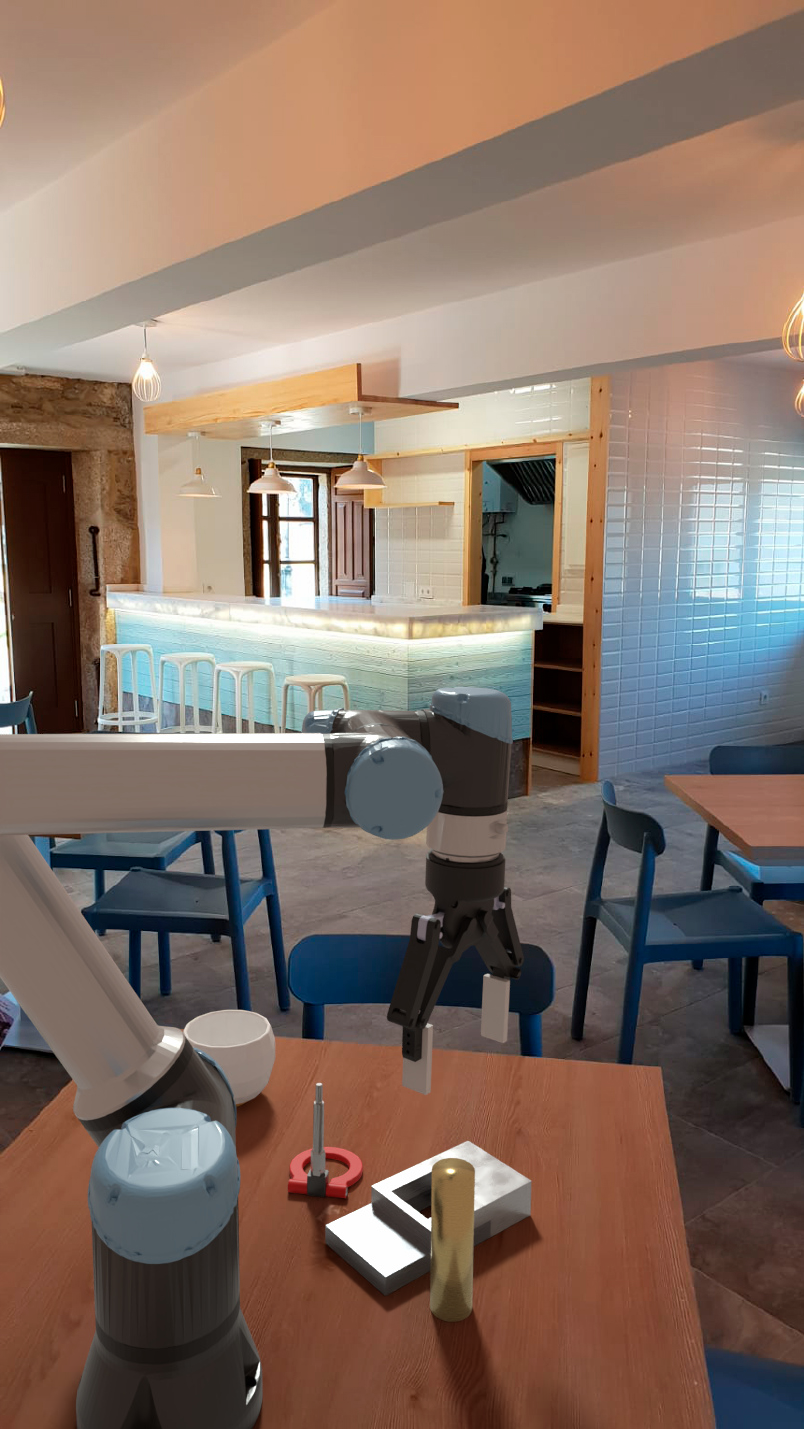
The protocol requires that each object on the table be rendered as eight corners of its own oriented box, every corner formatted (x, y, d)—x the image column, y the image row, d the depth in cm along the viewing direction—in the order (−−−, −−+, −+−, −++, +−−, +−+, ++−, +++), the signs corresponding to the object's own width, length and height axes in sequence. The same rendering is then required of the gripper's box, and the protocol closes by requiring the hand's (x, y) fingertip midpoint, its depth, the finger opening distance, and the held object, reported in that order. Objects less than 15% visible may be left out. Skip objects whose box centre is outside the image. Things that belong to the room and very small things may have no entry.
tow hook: (299, 1152, 125) (278, 1195, 116) (300, 1049, 124) (280, 1084, 115) (368, 1159, 124) (353, 1203, 115) (370, 1055, 123) (355, 1091, 113)
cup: (160, 1103, 135) (158, 1032, 134) (227, 1065, 145) (226, 999, 144) (229, 1133, 128) (228, 1059, 127) (295, 1092, 138) (294, 1023, 137)
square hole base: (385, 1296, 100) (385, 1258, 100) (325, 1243, 108) (325, 1207, 107) (530, 1215, 113) (531, 1180, 112) (467, 1172, 120) (468, 1140, 120)
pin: (449, 1328, 96) (451, 1188, 94) (421, 1304, 99) (422, 1168, 97) (481, 1308, 99) (483, 1172, 97) (452, 1286, 102) (454, 1153, 100)
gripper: (421, 890, 87) (412, 1128, 90) (563, 833, 106) (552, 1030, 110) (351, 871, 91) (345, 1099, 94) (500, 820, 111) (491, 1010, 114)
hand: (457, 1062), depth 102 cm, fingers open, 13 cm apart
